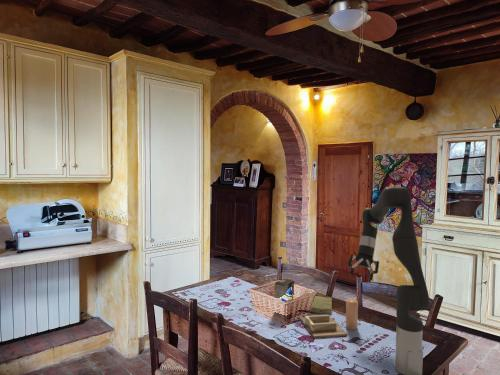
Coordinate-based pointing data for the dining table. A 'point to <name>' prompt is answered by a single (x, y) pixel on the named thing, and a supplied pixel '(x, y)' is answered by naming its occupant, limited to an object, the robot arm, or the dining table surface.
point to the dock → (322, 326)
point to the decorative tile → (322, 305)
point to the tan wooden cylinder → (351, 314)
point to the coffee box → (283, 287)
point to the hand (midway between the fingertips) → (360, 278)
